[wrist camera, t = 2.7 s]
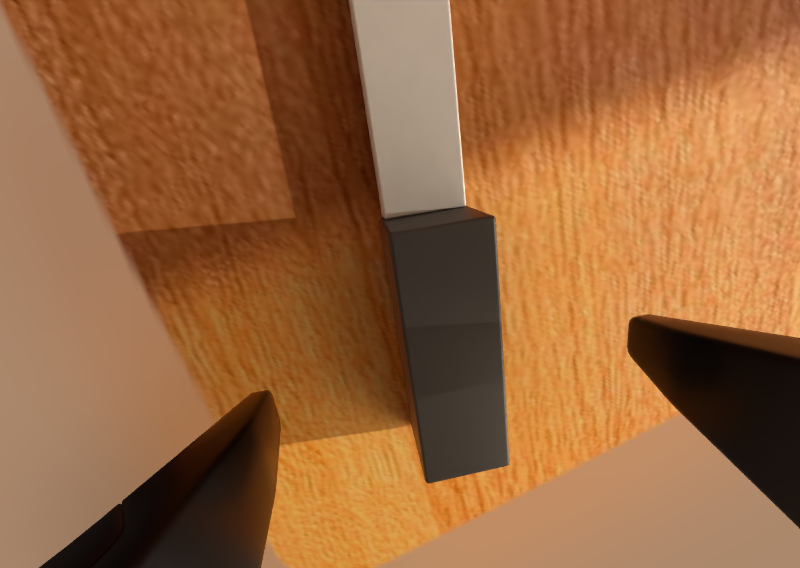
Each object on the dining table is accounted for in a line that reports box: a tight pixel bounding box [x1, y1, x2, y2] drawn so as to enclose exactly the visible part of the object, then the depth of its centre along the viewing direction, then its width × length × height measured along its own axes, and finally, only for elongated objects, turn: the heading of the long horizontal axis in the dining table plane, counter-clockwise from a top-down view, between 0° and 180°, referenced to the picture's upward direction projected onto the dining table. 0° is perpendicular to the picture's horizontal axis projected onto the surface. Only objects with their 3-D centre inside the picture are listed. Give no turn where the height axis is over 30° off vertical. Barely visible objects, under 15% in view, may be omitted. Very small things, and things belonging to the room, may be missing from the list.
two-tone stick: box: [348, 0, 509, 483], centre depth 9 cm, size 17×2×2 cm, turn 8°
